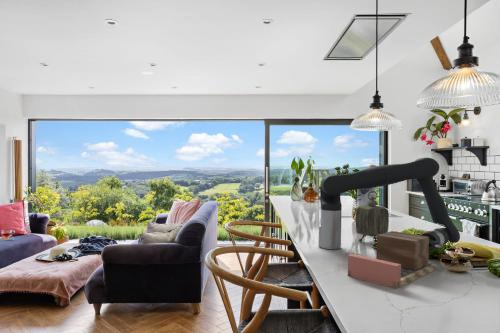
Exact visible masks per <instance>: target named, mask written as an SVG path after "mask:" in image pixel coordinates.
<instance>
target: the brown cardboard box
mask: <svg viewBox="0 0 500 333" xmlns="http://www.w3.org/2000/svg"><path fill="white" fill-rule="evenodd" d="M420 235H421V234H412V233H406V232H399V231H393V230H390V231H388V232H387V233H383V234H379V235H377V236H376V238H377V239H376V240H377V243H376V256H375V257H376V258H375V259H378V260H383V261H388V262H392V263H397V264H401V268H406V269H410V270H416V269H418V268H421V267H423V266H425V265H428V263H429V259H430V258H429V256H430V254H429V253H430V251H429V237H427V236H420Z"/></svg>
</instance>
